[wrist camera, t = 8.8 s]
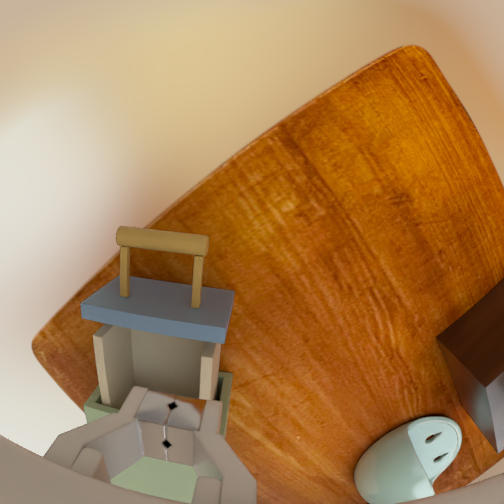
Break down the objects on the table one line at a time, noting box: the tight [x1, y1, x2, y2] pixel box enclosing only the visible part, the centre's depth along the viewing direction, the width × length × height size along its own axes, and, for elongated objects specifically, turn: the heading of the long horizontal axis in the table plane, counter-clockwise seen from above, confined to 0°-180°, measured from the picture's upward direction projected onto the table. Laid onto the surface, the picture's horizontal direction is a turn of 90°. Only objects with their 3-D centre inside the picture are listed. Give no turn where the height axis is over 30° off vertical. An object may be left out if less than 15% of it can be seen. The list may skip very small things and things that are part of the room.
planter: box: [354, 416, 462, 504], centre depth 29 cm, size 19×7×16 cm
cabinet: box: [83, 371, 233, 503], centre depth 27 cm, size 14×12×9 cm
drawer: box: [81, 226, 235, 410], centre depth 24 cm, size 18×10×7 cm, turn 173°
